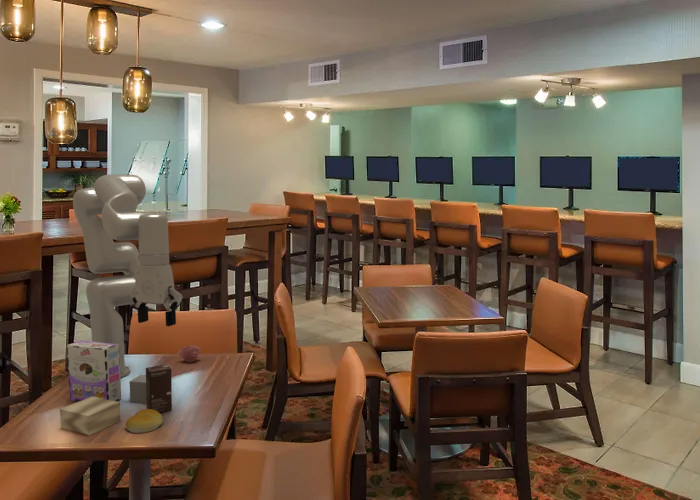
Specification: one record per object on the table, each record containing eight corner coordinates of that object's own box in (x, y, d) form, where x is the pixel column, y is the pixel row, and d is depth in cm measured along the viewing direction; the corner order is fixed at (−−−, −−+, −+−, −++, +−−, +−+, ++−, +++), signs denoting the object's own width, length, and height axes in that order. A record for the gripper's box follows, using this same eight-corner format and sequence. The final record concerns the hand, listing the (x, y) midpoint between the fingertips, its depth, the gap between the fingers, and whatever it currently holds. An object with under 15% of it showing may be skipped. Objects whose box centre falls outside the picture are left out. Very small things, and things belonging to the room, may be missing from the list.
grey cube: (130, 401, 171) (129, 381, 171) (141, 394, 177) (140, 374, 176) (149, 403, 170) (148, 382, 169) (160, 395, 176) (159, 376, 175)
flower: (195, 349, 203) (194, 336, 207) (174, 358, 203) (172, 346, 207) (206, 361, 209) (204, 348, 213) (185, 370, 209) (183, 358, 213)
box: (150, 415, 161) (149, 371, 160) (146, 409, 165) (144, 367, 164) (173, 410, 165) (171, 367, 163) (168, 405, 168) (166, 363, 167)
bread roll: (119, 432, 151) (119, 417, 150) (140, 419, 160) (139, 404, 159) (149, 436, 149) (148, 420, 148) (168, 422, 158) (167, 407, 157)
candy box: (122, 399, 173) (120, 343, 171) (108, 406, 168) (105, 348, 166) (84, 393, 178) (81, 339, 176) (68, 400, 172) (65, 344, 170)
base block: (61, 428, 153) (60, 409, 152) (93, 414, 162) (92, 396, 161) (89, 435, 149) (88, 415, 148) (120, 420, 158) (119, 402, 157)
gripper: (119, 260, 160) (122, 323, 162) (169, 263, 153) (172, 329, 155) (140, 257, 167) (143, 317, 169) (189, 260, 160) (191, 323, 161)
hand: (157, 323), depth 162 cm, fingers open, 9 cm apart
